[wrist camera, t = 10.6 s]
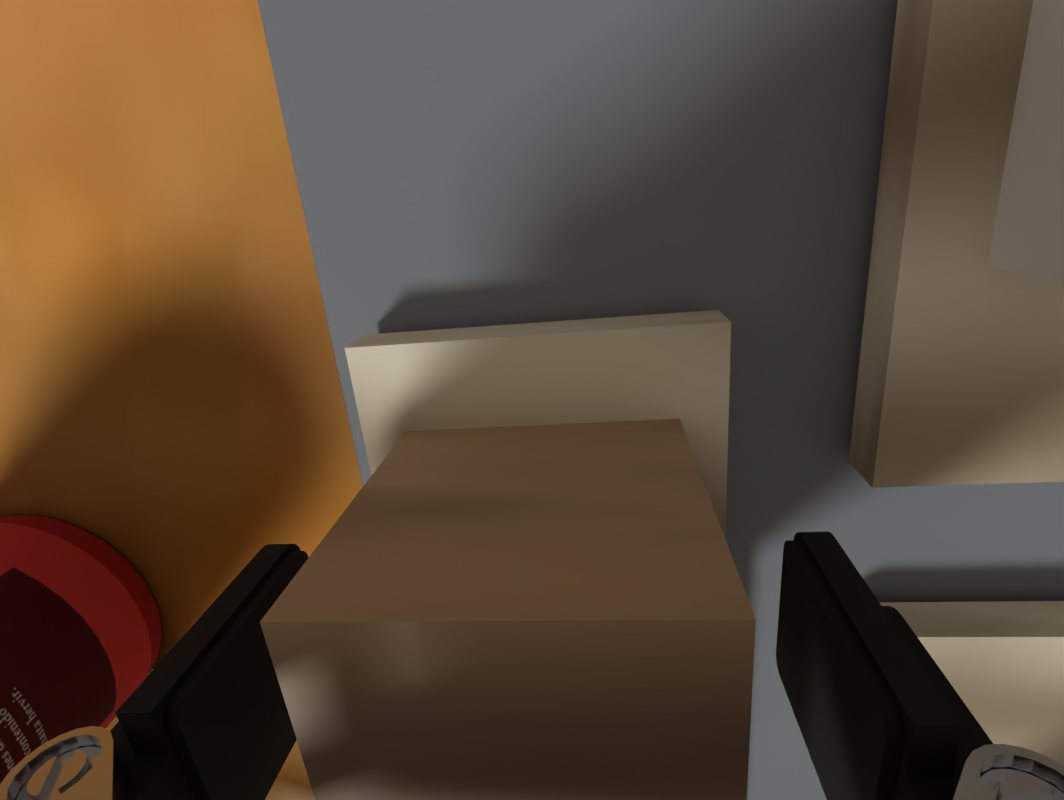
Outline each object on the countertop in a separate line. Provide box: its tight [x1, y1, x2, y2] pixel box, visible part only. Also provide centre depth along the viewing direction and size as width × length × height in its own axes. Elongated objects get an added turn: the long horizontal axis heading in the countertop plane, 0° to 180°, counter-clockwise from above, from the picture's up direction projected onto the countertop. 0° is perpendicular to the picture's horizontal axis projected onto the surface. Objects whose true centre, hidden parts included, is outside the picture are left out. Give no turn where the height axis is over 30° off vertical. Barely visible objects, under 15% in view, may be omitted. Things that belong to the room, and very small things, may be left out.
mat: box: [258, 0, 1064, 800], centre depth 16 cm, size 37×21×1 cm, turn 6°
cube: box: [260, 419, 756, 800], centre depth 11 cm, size 6×6×6 cm
